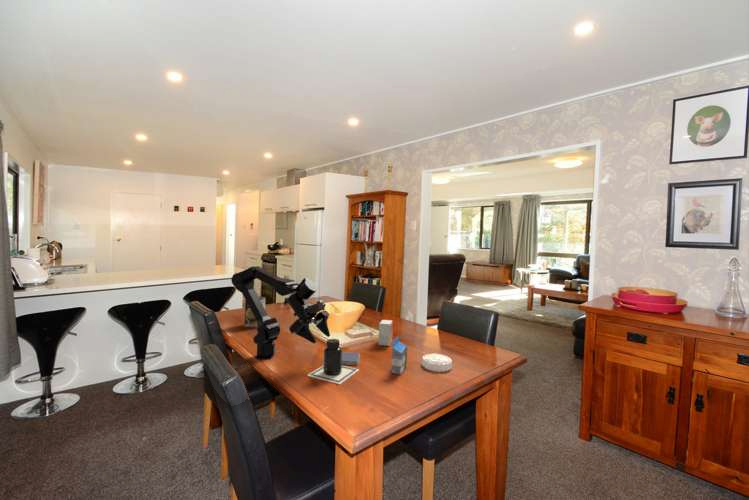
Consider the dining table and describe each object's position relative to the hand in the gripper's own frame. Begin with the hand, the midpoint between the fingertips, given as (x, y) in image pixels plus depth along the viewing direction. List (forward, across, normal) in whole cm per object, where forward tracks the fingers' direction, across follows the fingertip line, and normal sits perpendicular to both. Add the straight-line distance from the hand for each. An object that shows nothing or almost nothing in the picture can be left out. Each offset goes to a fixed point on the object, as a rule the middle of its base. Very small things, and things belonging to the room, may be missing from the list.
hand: (322, 339), depth 125 cm
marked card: (+12, 0, +4) cm, 13 cm away
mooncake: (+35, +27, -18) cm, 48 cm away
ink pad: (+10, +14, +6) cm, 18 cm away
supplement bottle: (+12, 0, +4) cm, 13 cm away
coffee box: (-38, +31, +56) cm, 74 cm away
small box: (+14, +42, +3) cm, 45 cm away
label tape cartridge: (+27, +15, -10) cm, 32 cm away
